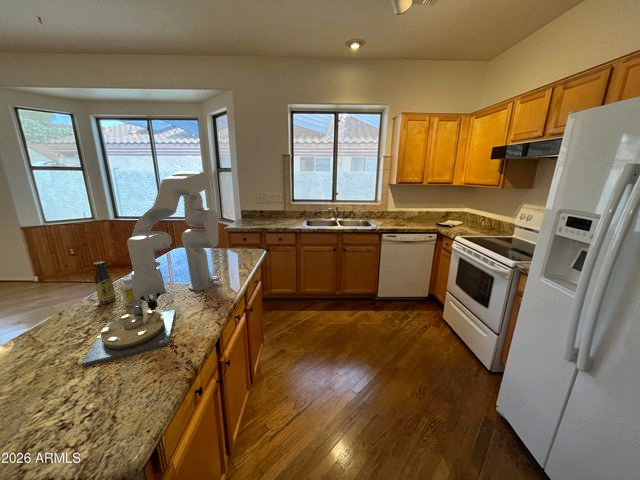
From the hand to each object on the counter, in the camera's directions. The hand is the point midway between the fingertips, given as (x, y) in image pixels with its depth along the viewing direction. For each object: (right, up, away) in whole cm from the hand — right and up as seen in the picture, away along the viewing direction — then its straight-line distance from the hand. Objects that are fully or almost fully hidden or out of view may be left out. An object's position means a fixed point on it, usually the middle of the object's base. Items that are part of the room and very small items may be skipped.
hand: (153, 309), depth 102 cm
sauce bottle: (-34, -2, +18) cm, 39 cm away
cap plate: (-2, -8, -7) cm, 11 cm away
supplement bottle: (-20, -2, +17) cm, 26 cm away
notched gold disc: (-2, -6, -8) cm, 10 cm away
